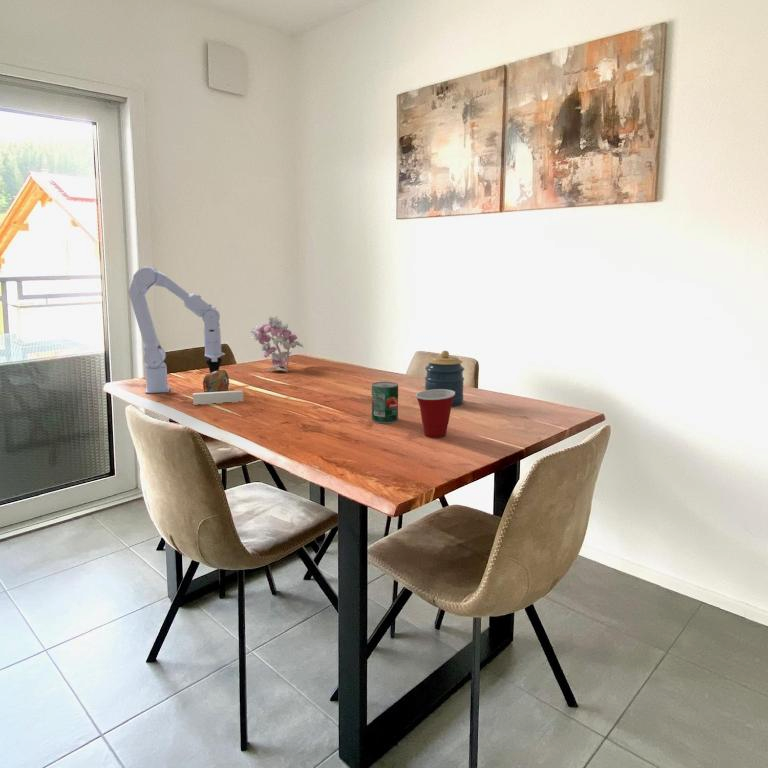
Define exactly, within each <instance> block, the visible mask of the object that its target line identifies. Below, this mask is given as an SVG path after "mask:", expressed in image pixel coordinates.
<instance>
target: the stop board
mask: <svg viewBox="0 0 768 768" xmlns="http://www.w3.org/2000/svg"><path fill="white" fill-rule="evenodd" d="M192 401H193V402H192V403H193V406H198V404H201V405H212V403H216V404H224V403H223V402H232V403H237V402H236V401H243V402H244V391H243V390H240V389H239V390H227V391H223V392H206V393H204V392H194V393H192Z"/></svg>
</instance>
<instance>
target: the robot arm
mask: <svg viewBox="0 0 768 768" xmlns="http://www.w3.org/2000/svg"><path fill="white" fill-rule="evenodd" d="M153 286H155V287H161V288H162V287H163V288H165V289H167V290H168V291H169V292H171V294H174V295H175V296H177V297H178V298H179V299H181V300H182V301H183V304H184V307H185V308H187V309H188V310H189V311H191V312H192V313H193V315H194V314H195V316H197V317H198V318H202V321H203V324H204V325H203V326H204V329H203V336H204V337H203V338H204V340H203V341H204V357H207V359H205V362H206V364H207V366H208V369H209V374H210V373H212V372H215V371H217V370H220V366H221V363H222V361H223V360H222V356H225V355H226V354H225V352H222V341H221V340H222V339H221V338H222V337H221V326H220V324H221V323H220V317H221V314H220V311H219V310H218V309H217V308H216V307H213V304H211V303H208V302H207V301H205V300H204V299H202V296H201V295H200V294H196V293H189V292H187V291H186V290H185V289H184V288H182V287H181V286H180V285H179V284H178V283H176V282H175V281H174V280H173V279H172V278H171V277H170V276H168V275H167V274H164V272H162V271H159V270H158V269H157V268H156V267H153V266H150V265H149V266H142V267H140V268H139V269H138V270H136V272H135V273H134V274H133V277H132V281H131V284H130V288H129V291H128V295H129V299H130V302H131V305H132V308H133V311H134V315H135V318H136V322H137V325H138V329H139V332H140V335H141V338H142V342H143V350H144V356H143V362H144V363H145V365H144V370H145V383H146V385H145V386H146V388H145V392H144V393H145V394H156V393H169V392H170V385H168V384H169V383H168V371H167V370H168V369H167V368H168V367H167V363H165V360H166V356H167V353H166V351H165V349H164V348H163V347H162V345H161V342H160V341H159V338H158V335H157V331H156V329H155V326H154V322H153V319H152V315H151V312H150V310H149V308H150V307H149V306H148V302H147V299H146V294H147V292H148V291H149V290H150V288H151V287H153Z"/></svg>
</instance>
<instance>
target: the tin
mask: <svg viewBox="0 0 768 768" xmlns="http://www.w3.org/2000/svg"><path fill="white" fill-rule="evenodd" d="M202 385H203V386H202V387H203V393H206V392H223V391H229V385H230V378H229V374H228V372H227V371H226V370H225V369H221V370H220V369H219V370H217V371H215V372H212V373H210V372H209V373H208V374H207V373H206V375H205V376H204V377H203V381H202Z"/></svg>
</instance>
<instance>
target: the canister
mask: <svg viewBox="0 0 768 768" xmlns="http://www.w3.org/2000/svg"><path fill="white" fill-rule="evenodd" d="M440 354H441V355H435V356H432V357H431V358H429V359H428V360H427V363H428V364H427V365H426V366H425V367H424V369H425V371H426V375H425V377H424V382H425V384H424V385H425V387H424V391H425V390H433V389H447V390H452V391H454V392H455V395H454V397H453V401H452V405H451V407H457V406H461V405H462V404H464V403H463V401H464V381H465V378H464V376H463V375H464V374H463V372H464V371H465V367H463V365H462V363H463V360H461V359H460V358H459V357H457V356H454V355H450V353H449V351H448V350H443V351H441V353H440Z"/></svg>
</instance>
